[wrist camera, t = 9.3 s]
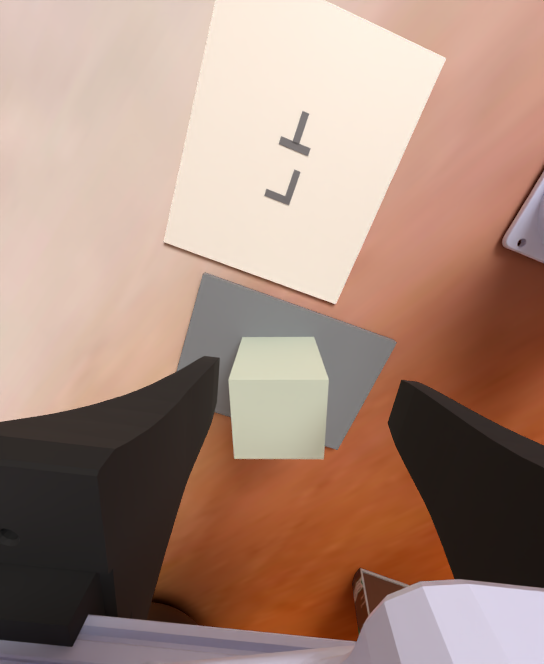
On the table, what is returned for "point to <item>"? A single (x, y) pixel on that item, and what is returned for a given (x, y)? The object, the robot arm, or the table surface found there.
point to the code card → (295, 139)
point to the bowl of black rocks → (168, 614)
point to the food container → (371, 592)
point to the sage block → (278, 399)
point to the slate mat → (285, 321)
